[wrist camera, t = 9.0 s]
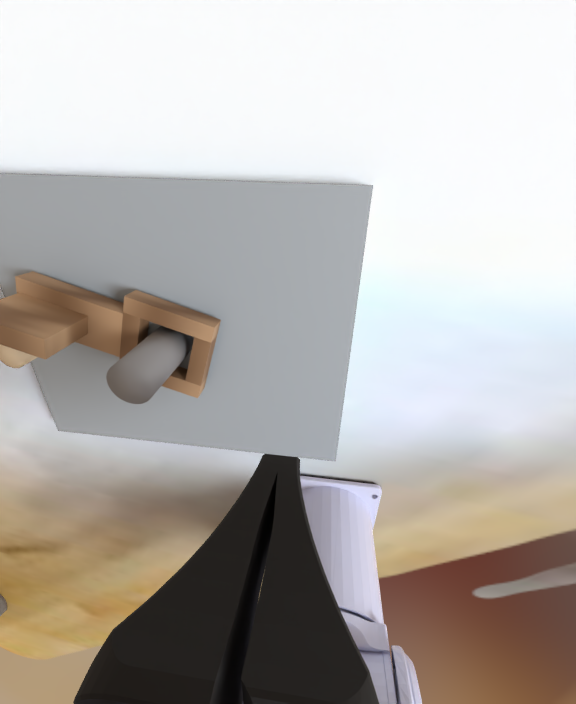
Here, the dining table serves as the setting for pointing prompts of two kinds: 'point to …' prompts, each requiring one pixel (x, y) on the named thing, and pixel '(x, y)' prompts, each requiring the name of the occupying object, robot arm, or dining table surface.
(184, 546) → the dining table surface
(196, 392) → the brown wooden blocky piece
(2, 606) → the coffeepot
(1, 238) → the base board
